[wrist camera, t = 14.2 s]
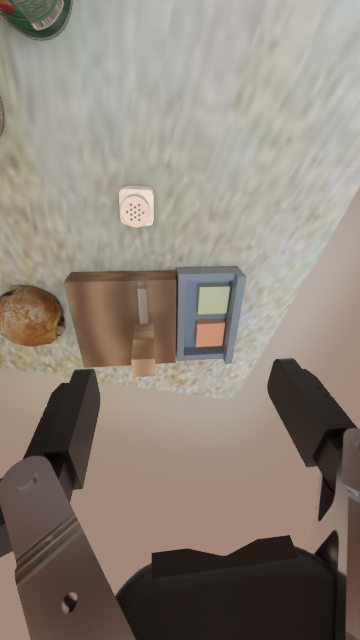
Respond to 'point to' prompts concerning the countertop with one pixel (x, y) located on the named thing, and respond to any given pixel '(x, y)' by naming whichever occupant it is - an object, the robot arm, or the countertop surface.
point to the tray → (188, 314)
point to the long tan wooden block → (143, 338)
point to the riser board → (121, 314)
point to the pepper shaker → (136, 206)
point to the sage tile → (212, 298)
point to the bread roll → (30, 316)
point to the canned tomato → (37, 16)
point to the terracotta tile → (209, 332)
